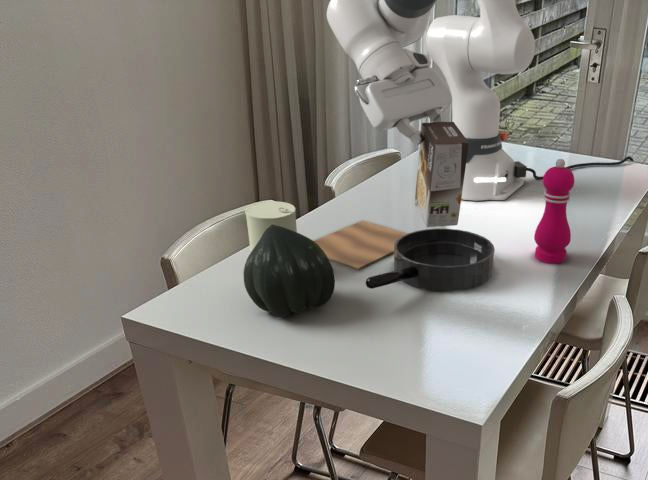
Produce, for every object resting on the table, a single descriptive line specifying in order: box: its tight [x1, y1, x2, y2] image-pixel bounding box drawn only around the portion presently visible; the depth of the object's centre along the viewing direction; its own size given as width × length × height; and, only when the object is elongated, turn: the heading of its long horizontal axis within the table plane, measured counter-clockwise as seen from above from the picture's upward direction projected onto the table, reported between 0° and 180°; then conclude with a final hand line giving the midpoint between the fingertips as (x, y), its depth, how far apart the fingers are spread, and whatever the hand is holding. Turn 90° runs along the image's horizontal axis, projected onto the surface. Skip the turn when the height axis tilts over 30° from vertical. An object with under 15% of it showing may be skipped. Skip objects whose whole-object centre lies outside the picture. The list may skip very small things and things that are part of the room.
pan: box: [393, 228, 496, 292], centre depth 147 cm, size 19×19×5 cm
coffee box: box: [414, 121, 469, 228], centre depth 139 cm, size 9×6×16 cm
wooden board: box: [313, 220, 407, 271], centre depth 159 cm, size 20×16×1 cm
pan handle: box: [365, 266, 418, 290], centre depth 136 cm, size 14×2×4 cm, turn 145°
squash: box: [243, 224, 336, 317], centre depth 131 cm, size 14×15×15 cm
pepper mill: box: [533, 158, 575, 265], centre depth 150 cm, size 7×7×20 cm
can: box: [244, 200, 298, 253], centre depth 144 cm, size 9×9×12 cm
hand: (432, 138), depth 137 cm, fingers closed on coffee box, 6 cm apart
